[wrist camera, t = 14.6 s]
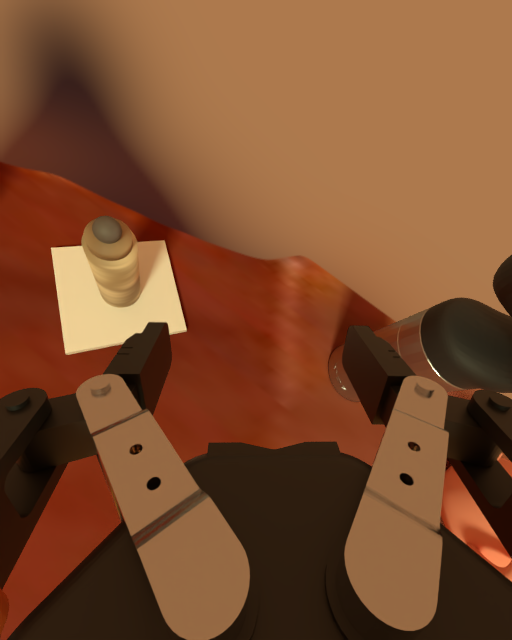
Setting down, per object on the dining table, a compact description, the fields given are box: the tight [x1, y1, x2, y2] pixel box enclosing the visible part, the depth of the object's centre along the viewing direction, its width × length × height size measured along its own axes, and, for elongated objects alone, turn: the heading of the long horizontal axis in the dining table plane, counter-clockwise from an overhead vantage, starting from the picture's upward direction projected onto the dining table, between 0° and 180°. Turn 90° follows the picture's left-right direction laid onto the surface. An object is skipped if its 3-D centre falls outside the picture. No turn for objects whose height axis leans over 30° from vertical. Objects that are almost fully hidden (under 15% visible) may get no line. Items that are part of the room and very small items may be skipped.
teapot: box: [441, 453, 512, 582], centre depth 38 cm, size 16×17×14 cm
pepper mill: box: [82, 216, 141, 308], centre depth 31 cm, size 5×5×14 cm
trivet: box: [51, 240, 187, 355], centre depth 37 cm, size 14×14×1 cm
